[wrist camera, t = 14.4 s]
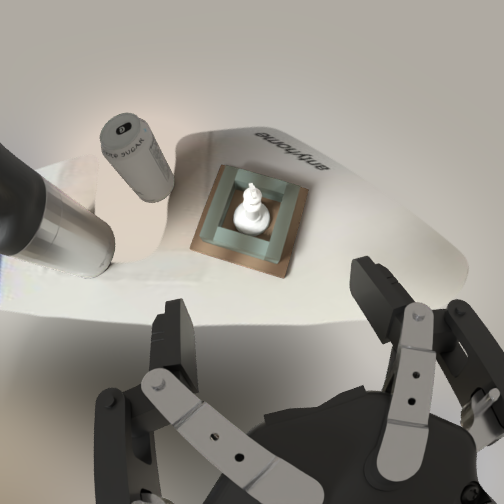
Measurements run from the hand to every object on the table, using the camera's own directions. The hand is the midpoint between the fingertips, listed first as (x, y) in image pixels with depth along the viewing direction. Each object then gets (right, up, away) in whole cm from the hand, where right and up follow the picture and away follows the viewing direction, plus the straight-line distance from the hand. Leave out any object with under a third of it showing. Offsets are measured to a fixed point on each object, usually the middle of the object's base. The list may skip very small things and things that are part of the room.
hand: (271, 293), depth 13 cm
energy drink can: (-15, +12, +28) cm, 34 cm away
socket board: (-1, +6, +27) cm, 28 cm away
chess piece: (-1, +6, +26) cm, 27 cm away
